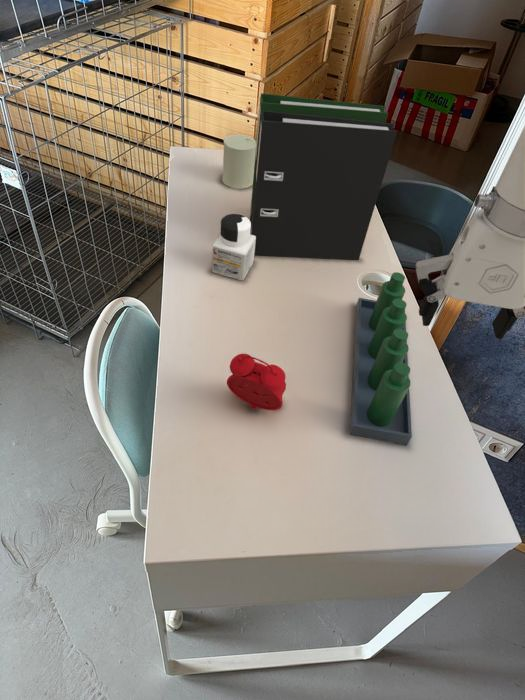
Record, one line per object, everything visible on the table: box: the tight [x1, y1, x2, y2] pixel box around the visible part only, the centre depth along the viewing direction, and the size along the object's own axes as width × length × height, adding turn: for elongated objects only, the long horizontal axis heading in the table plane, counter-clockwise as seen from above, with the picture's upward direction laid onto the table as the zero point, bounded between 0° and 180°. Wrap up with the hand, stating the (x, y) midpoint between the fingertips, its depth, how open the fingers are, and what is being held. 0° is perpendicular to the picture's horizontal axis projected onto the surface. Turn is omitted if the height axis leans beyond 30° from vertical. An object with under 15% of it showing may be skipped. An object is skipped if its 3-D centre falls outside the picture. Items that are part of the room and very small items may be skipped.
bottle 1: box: [369, 271, 406, 331], centre depth 98 cm, size 5×5×14 cm
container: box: [211, 213, 256, 281], centre depth 108 cm, size 8×8×13 cm
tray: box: [349, 297, 413, 446], centre depth 95 cm, size 34×10×3 cm, turn 170°
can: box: [221, 134, 257, 190], centre depth 136 cm, size 9×9×12 cm
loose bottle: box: [367, 362, 411, 427], centre depth 82 cm, size 5×5×14 cm
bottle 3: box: [368, 328, 409, 390], centre depth 88 cm, size 5×5×14 cm
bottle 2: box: [368, 298, 408, 359], centre depth 93 cm, size 5×5×14 cm
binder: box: [249, 93, 398, 261], centre depth 111 cm, size 27×15×32 cm, turn 91°
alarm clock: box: [226, 353, 287, 411], centre depth 81 cm, size 10×6×15 cm, turn 67°
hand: (460, 325), depth 65 cm, fingers open, 9 cm apart
